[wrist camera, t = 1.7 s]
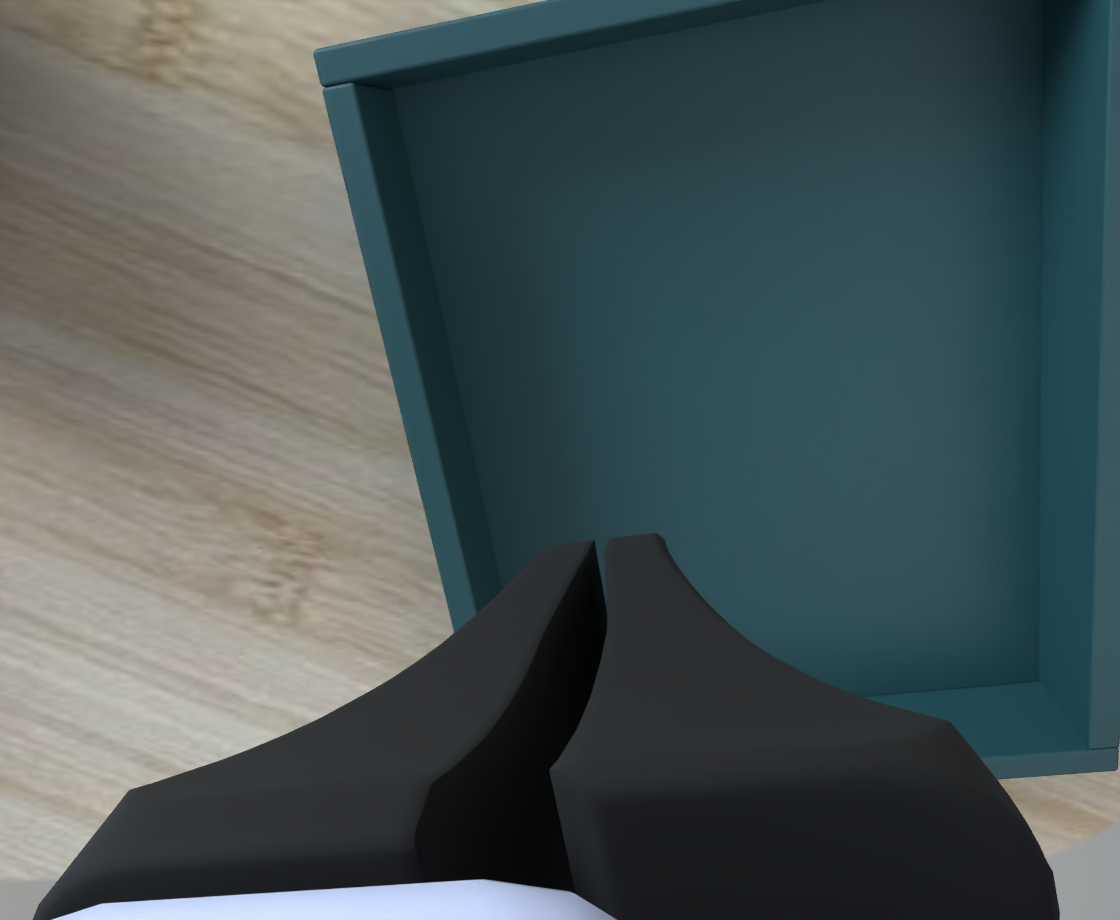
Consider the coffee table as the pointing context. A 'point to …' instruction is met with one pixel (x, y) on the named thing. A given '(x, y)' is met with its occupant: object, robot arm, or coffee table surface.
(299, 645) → the coffee table surface
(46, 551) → the coffee table surface
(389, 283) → the tray
